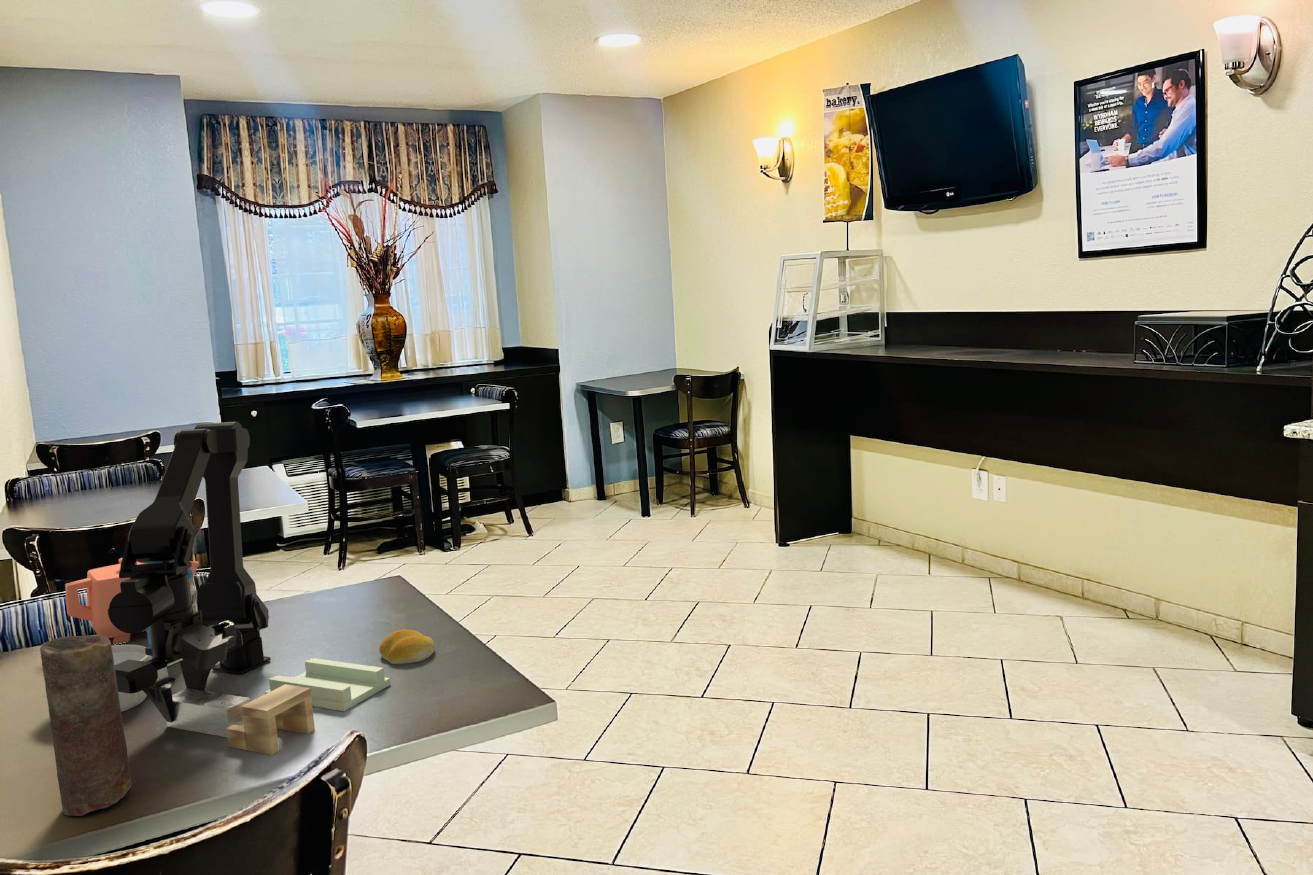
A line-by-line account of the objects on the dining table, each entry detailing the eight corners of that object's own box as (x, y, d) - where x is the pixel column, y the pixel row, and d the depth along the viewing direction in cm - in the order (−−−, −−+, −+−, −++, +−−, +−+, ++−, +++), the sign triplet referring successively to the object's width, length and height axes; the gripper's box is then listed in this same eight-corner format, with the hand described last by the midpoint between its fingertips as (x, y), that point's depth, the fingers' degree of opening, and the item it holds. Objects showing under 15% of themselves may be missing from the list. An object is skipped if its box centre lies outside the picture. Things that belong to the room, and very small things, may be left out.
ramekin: (169, 700, 148) (163, 656, 147) (71, 731, 138) (64, 684, 137) (139, 680, 157) (133, 638, 156) (45, 707, 148) (38, 663, 147)
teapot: (196, 610, 192) (187, 539, 190) (214, 625, 182) (205, 550, 180) (67, 639, 179) (56, 563, 177) (78, 656, 169) (66, 576, 167)
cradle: (265, 698, 146) (263, 680, 146) (314, 673, 155) (312, 656, 155) (344, 711, 140) (342, 692, 140) (390, 684, 149) (388, 666, 148)
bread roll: (398, 670, 155) (396, 645, 155) (373, 656, 162) (371, 633, 161) (445, 655, 161) (443, 631, 160) (419, 642, 167) (417, 619, 167)
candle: (82, 789, 121) (59, 632, 118) (144, 783, 122) (122, 627, 119) (50, 821, 113) (24, 655, 110) (116, 815, 114) (92, 649, 111)
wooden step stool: (228, 746, 131) (223, 703, 130) (272, 722, 137) (267, 681, 137) (272, 754, 127) (266, 710, 126) (315, 730, 134) (310, 688, 133)
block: (167, 726, 138) (163, 699, 138) (190, 714, 142) (187, 688, 141) (230, 737, 133) (226, 709, 133) (253, 725, 137) (250, 697, 136)
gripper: (151, 636, 125) (167, 752, 128) (264, 592, 142) (276, 696, 144) (92, 628, 130) (108, 740, 132) (208, 587, 147) (221, 687, 149)
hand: (183, 715), depth 139 cm, fingers closed on block, 4 cm apart
